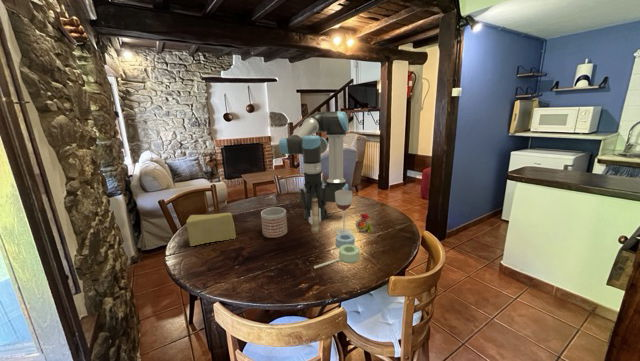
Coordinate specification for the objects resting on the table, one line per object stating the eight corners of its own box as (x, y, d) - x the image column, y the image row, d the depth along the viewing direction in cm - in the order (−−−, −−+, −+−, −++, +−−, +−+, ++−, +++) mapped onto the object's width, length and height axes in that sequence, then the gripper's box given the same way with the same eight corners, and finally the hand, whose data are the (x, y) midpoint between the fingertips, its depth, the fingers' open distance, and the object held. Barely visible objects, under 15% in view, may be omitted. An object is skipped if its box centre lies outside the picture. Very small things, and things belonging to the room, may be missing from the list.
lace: (313, 268, 114) (313, 266, 114) (339, 259, 120) (339, 257, 120) (314, 269, 113) (314, 267, 113) (340, 260, 119) (340, 258, 119)
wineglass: (354, 229, 150) (354, 190, 144) (350, 237, 141) (349, 195, 135) (338, 227, 153) (337, 189, 147) (333, 235, 144) (332, 194, 138)
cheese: (236, 234, 148) (233, 209, 144) (235, 243, 139) (231, 216, 135) (194, 239, 144) (190, 213, 140) (189, 248, 135) (185, 221, 131)
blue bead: (332, 244, 134) (332, 237, 133) (344, 238, 140) (344, 231, 139) (345, 250, 127) (345, 243, 126) (358, 244, 133) (358, 237, 132)
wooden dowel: (310, 230, 123) (308, 197, 119) (316, 228, 125) (315, 196, 120) (313, 233, 120) (311, 200, 116) (320, 231, 122) (319, 198, 117)
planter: (292, 231, 150) (291, 210, 146) (272, 240, 140) (270, 218, 137) (277, 225, 159) (275, 205, 156) (257, 233, 149) (255, 212, 146)
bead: (335, 255, 124) (335, 247, 123) (351, 250, 128) (351, 242, 127) (346, 264, 116) (346, 256, 115) (363, 259, 120) (363, 251, 119)
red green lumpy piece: (361, 237, 144) (376, 230, 144) (353, 221, 141) (368, 213, 141) (358, 233, 150) (373, 225, 150) (350, 216, 147) (365, 209, 147)
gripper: (298, 176, 108) (301, 229, 114) (333, 170, 115) (334, 220, 122) (291, 172, 114) (294, 223, 121) (325, 167, 122) (326, 215, 128)
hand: (314, 221), depth 121 cm, fingers closed on wooden dowel, 3 cm apart
